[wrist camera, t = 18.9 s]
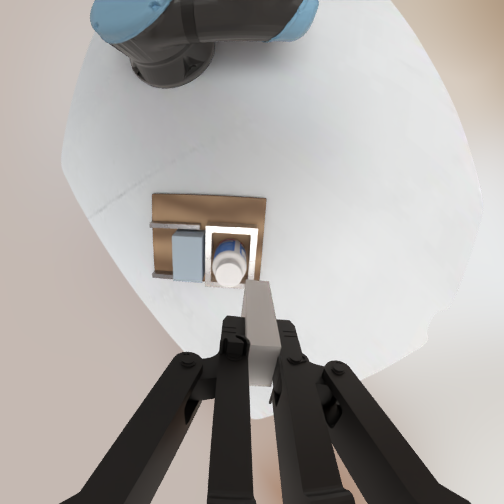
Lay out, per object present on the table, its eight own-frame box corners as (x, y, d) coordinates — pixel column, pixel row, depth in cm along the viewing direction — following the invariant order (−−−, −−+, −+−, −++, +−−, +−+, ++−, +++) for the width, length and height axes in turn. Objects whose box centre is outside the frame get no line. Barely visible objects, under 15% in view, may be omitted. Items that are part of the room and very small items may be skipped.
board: (154, 193, 46) (152, 194, 45) (265, 198, 47) (266, 199, 46) (157, 275, 51) (155, 277, 50) (258, 281, 52) (258, 284, 51)
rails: (152, 220, 46) (149, 223, 45) (201, 223, 47) (199, 225, 45) (155, 273, 50) (152, 277, 48) (200, 277, 50) (199, 281, 49)
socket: (208, 221, 47) (205, 226, 44) (257, 224, 47) (257, 228, 44) (207, 279, 50) (205, 286, 48) (252, 281, 51) (252, 289, 48)
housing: (178, 228, 47) (171, 235, 43) (205, 230, 47) (202, 237, 43) (178, 270, 49) (173, 280, 45) (205, 272, 50) (201, 282, 45)
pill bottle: (210, 258, 49) (203, 282, 40) (223, 232, 47) (218, 251, 38) (237, 271, 50) (236, 297, 41) (251, 246, 48) (253, 268, 39)
